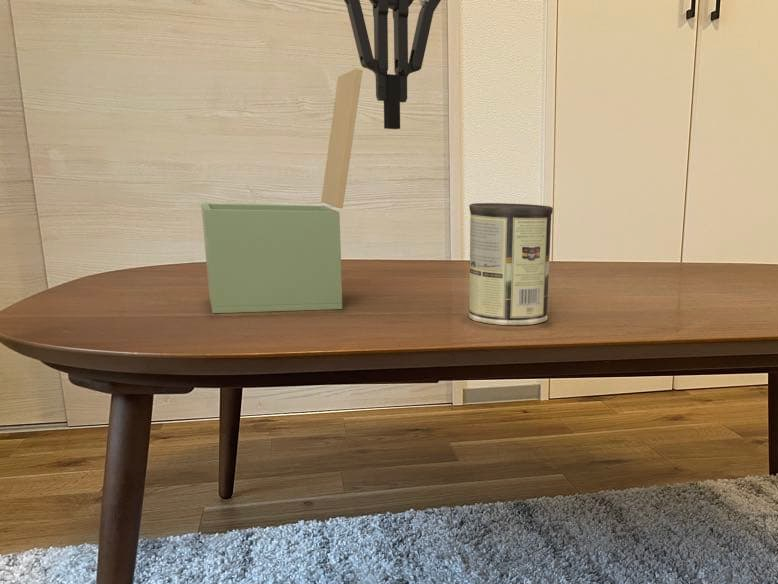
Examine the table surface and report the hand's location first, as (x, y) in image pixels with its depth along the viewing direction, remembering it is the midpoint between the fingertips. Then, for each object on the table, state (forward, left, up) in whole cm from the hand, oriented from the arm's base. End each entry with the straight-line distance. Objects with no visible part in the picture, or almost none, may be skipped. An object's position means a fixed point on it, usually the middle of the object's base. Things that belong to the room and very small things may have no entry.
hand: (392, 128), depth 102 cm
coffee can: (+11, -16, -23) cm, 30 cm away
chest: (-16, 0, -23) cm, 28 cm away
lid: (-7, 0, -2) cm, 7 cm away
